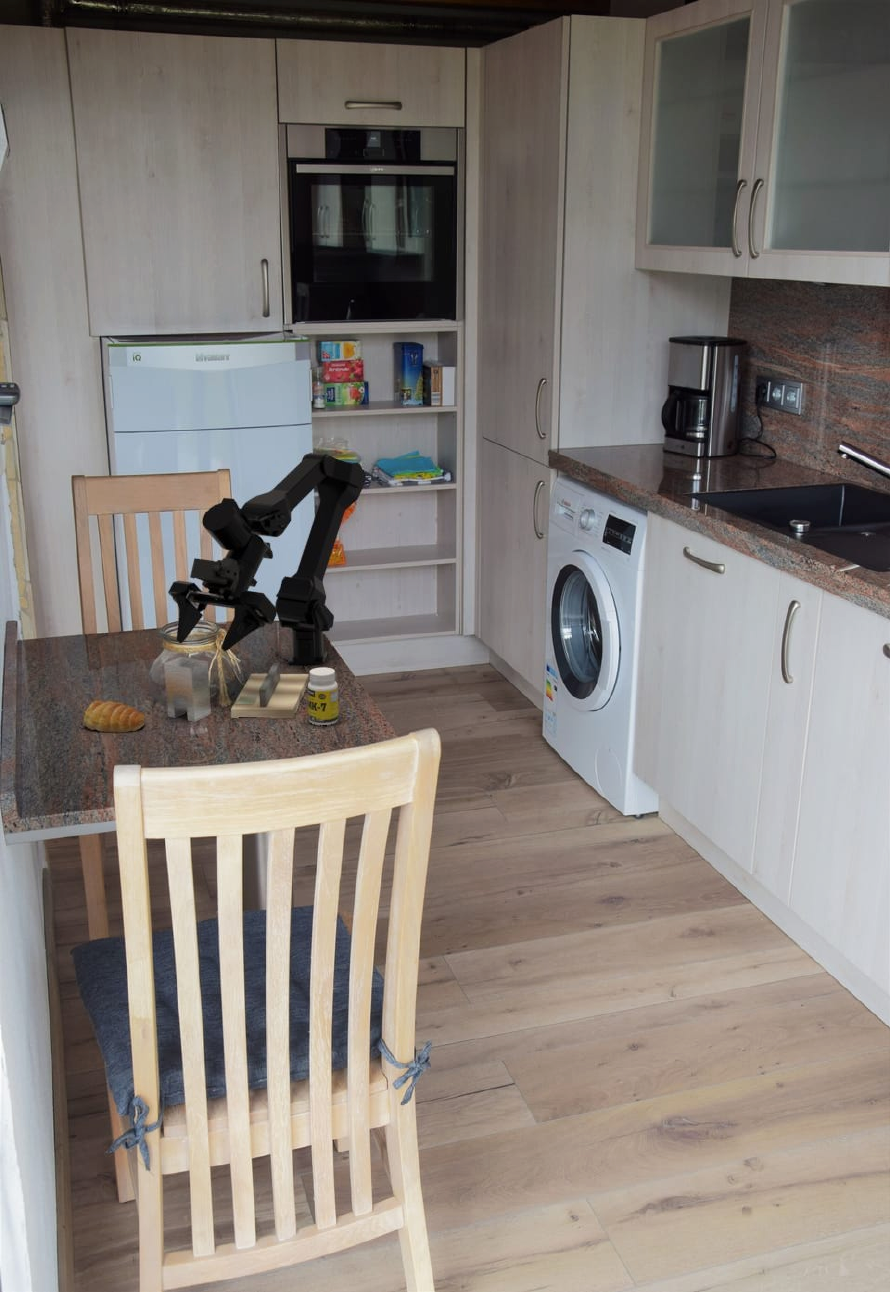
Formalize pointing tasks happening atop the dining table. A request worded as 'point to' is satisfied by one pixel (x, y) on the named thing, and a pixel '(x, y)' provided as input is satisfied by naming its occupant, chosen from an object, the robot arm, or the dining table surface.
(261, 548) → the robot arm
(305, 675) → the rack
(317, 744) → the dining table surface
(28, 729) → the dining table surface
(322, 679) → the supplement bottle
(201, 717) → the clip
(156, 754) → the dining table surface
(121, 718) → the pastry
